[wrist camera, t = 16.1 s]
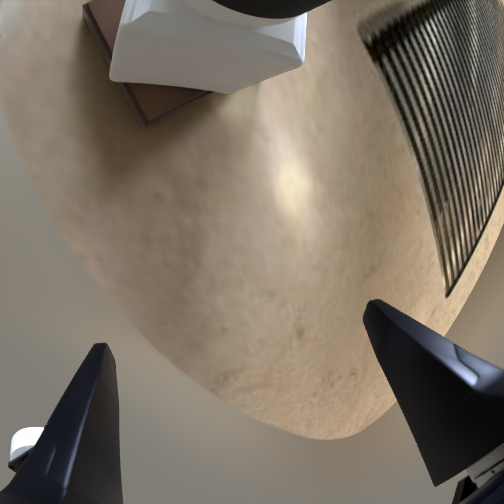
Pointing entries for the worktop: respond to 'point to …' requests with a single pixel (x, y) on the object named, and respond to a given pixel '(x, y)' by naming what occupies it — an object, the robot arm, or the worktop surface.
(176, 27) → the medicine bottle
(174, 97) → the brown square tile
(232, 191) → the worktop surface
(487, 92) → the worktop surface
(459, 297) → the worktop surface
